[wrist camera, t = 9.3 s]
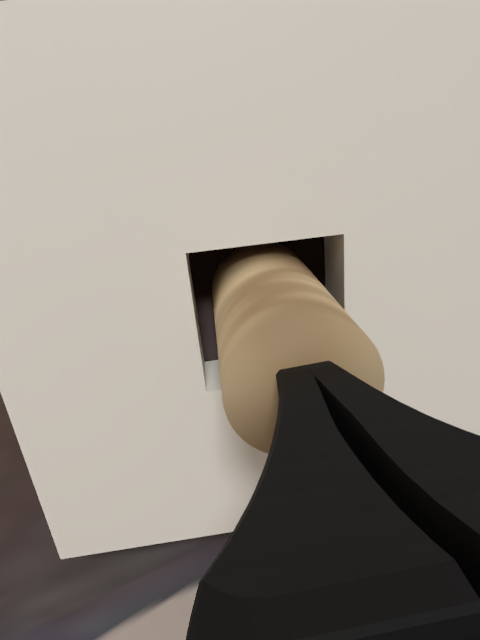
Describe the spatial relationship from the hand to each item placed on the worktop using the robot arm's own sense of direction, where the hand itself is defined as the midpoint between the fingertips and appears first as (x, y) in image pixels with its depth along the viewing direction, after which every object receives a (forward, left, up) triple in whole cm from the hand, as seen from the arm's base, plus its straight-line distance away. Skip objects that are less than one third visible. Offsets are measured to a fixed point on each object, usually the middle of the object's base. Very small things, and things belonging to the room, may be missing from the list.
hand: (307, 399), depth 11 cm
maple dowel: (0, 0, -8) cm, 8 cm away
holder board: (0, 0, -8) cm, 8 cm away
